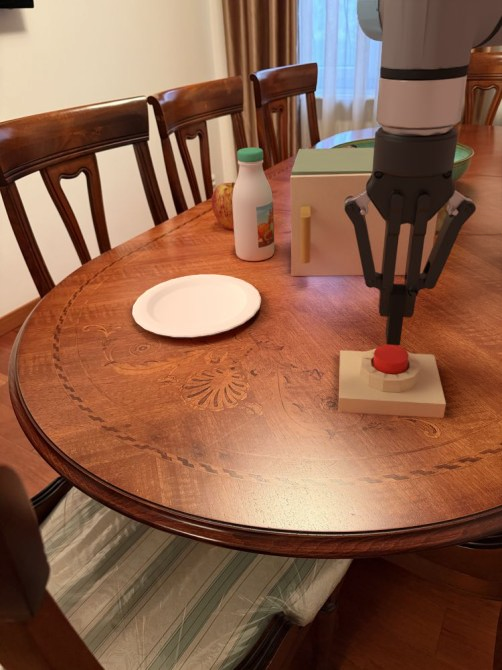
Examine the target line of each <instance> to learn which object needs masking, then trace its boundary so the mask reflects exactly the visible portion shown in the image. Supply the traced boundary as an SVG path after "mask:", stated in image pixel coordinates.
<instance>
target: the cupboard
mask: <svg viewBox="0 0 502 670" xmlns="http://www.w3.org/2000/svg"><path fill="white" fill-rule="evenodd" d="M373 156H374V147H335V148H333V147H331V148H330V147H329V148H299V149H298V151H297V153H296V157H295V160H294V163H293V166H292V168H291V175H290V176H293V175H330V174H367V173H372V169H373Z"/></svg>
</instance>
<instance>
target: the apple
mask: <svg viewBox="0 0 502 670" xmlns="http://www.w3.org/2000/svg"><path fill="white" fill-rule="evenodd" d="M235 183H236V181H235V182H234V181H232V182H224V183H220V184H218V185H217V186H216V187H215V188H214V190H213V192H212V195H211V208H212V211H213V214H214V216H215V218H216V220H217V222H218V223H219V224H220V226H222V227H223V228H224V229H226V230H227V229H228V230H231V231H232V230H233V231H234V222H233V203H232V197H233V189H234V186H235Z"/></svg>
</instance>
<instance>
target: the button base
mask: <svg viewBox="0 0 502 670" xmlns="http://www.w3.org/2000/svg"><path fill="white" fill-rule="evenodd" d="M377 348H378V347H376V348H372V349H369V350H367V351H366V350H365V351H364V350H360V351H359V350H345V349H344V350H341V349H340V350H339V365H338V366H339V367H338V368H339V371H338V405H337V406H338V409H337V410H338V413H349V414H351V413H352V414H367V415H384V416H386V415H387V416H399V417H400V416H401V417H403V416H404V417H420V418H435V419H444V417H445V413H446V405H447V402H446V397H445V393H444V390H443V385H442V382H441V381H442V380H441V377H440V374H439V373H440V372H439V369H438V364H437V361H436V356H435V354H431V353H414V352H413V353H411V352H410V351H407V352H408V355H409V357H408V364H407V369H406V371H405V372H404V373H401V374H397V375H393V374H385V373H382V372H380V371H377V370H376V369H375V368H374V366H373V361H374V352H375V350H376V349H377Z"/></svg>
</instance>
